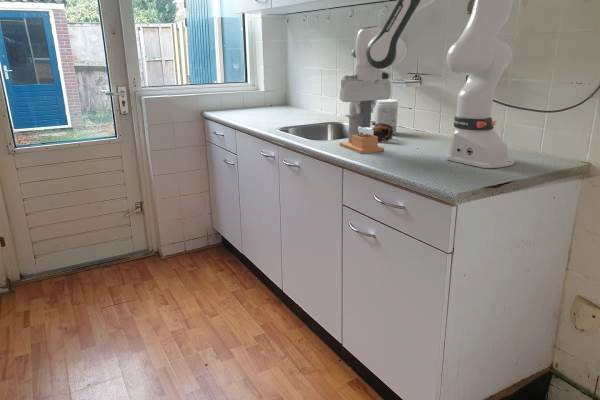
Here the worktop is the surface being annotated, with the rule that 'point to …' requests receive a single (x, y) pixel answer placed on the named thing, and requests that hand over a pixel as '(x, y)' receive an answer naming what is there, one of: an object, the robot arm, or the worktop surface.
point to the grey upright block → (365, 114)
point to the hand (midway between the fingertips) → (364, 113)
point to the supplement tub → (387, 113)
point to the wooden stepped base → (361, 141)
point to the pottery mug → (383, 131)
